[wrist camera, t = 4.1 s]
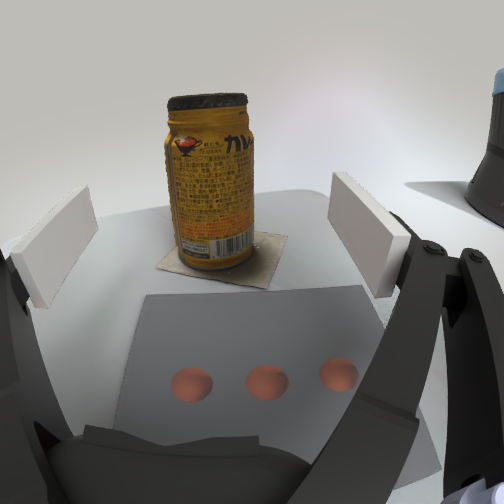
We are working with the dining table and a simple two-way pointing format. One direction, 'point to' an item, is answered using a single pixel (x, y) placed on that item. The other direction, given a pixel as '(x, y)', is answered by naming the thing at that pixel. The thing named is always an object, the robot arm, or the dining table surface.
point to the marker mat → (255, 370)
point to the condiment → (215, 192)
